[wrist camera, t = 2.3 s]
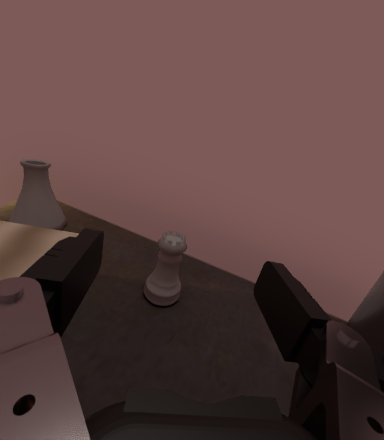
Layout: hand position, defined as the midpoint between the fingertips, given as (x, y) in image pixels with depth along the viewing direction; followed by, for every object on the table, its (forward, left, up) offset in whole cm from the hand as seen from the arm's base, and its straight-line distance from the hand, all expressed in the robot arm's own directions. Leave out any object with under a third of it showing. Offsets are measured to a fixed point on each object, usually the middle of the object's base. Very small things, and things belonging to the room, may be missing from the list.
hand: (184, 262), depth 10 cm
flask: (+20, -22, -13) cm, 33 cm away
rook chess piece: (0, -11, -13) cm, 17 cm away
